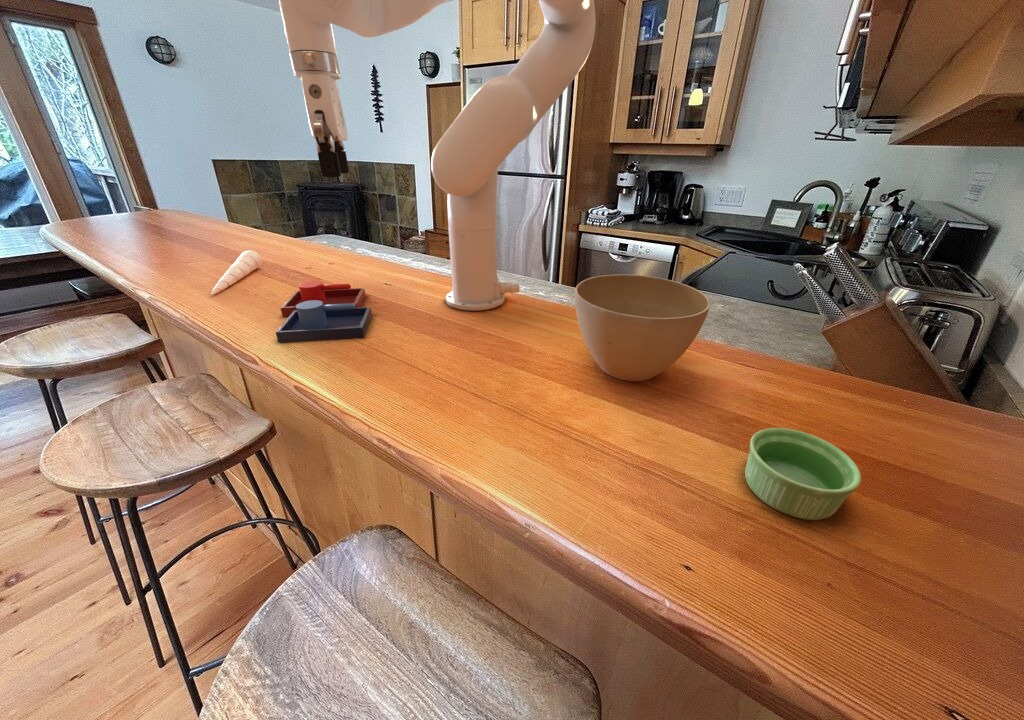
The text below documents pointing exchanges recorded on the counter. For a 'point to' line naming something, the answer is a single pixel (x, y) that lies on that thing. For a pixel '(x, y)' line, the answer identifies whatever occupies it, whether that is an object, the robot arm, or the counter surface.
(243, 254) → the unicorn horn
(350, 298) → the red tray
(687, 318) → the tan bowl
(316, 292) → the red scoop
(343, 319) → the blue tray
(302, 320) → the blue scoop
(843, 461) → the ramekin
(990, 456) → the counter surface
